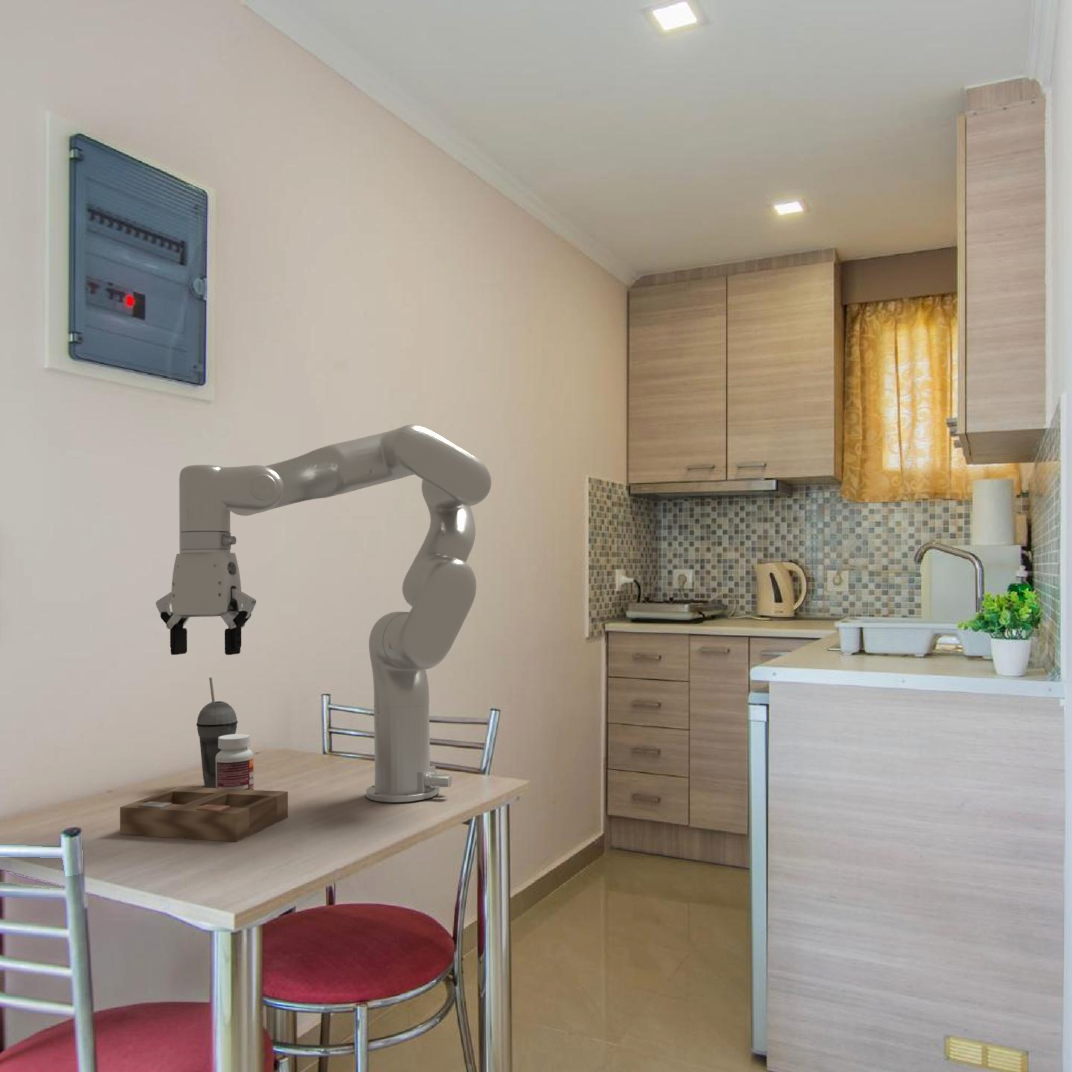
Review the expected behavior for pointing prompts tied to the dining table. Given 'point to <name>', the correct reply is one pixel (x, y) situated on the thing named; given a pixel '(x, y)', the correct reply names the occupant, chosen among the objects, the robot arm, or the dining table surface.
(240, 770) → the pill bottle
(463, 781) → the dining table surface
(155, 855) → the dining table surface
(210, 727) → the beverage cup
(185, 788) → the socket board
